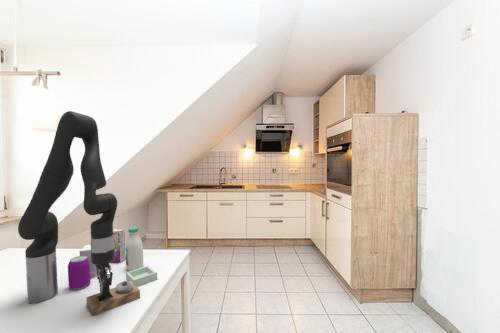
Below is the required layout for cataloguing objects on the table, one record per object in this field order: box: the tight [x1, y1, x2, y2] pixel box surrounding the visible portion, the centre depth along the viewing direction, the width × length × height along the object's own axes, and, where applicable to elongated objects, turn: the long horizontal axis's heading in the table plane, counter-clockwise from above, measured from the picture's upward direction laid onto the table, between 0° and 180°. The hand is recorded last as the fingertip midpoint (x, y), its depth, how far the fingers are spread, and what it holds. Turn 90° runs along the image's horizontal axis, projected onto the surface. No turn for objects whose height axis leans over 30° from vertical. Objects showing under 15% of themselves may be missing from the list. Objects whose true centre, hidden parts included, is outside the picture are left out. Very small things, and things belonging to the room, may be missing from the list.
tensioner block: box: [86, 280, 141, 317], centre depth 96 cm, size 16×9×6 cm, turn 134°
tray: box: [125, 265, 158, 288], centre depth 113 cm, size 10×10×3 cm
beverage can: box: [67, 255, 91, 291], centre depth 108 cm, size 8×8×12 cm
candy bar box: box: [110, 228, 126, 264], centre depth 133 cm, size 11×5×16 cm, turn 82°
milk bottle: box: [125, 226, 144, 272], centre depth 124 cm, size 8×8×20 cm
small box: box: [79, 244, 97, 279], centre depth 118 cm, size 8×6×13 cm
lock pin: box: [98, 274, 110, 301], centre depth 94 cm, size 4×4×12 cm
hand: (104, 293), depth 94 cm, fingers closed on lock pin, 3 cm apart
